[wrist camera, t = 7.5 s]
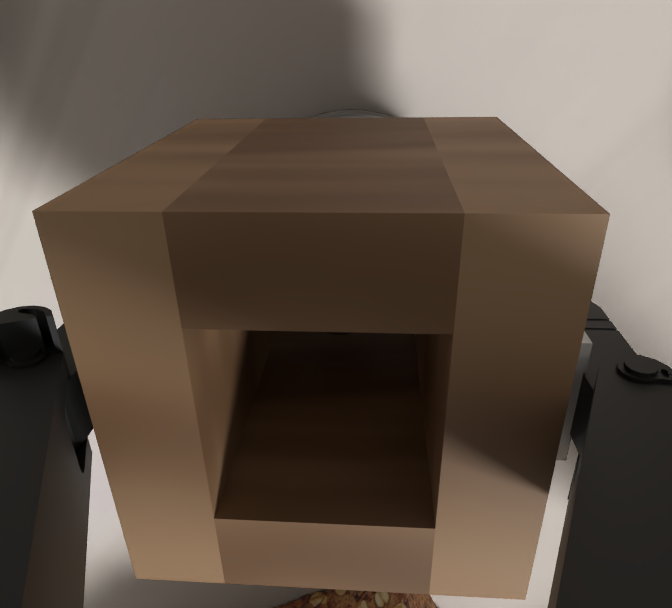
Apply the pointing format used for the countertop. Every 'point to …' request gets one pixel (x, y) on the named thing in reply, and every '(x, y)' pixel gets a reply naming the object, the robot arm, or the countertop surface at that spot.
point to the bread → (361, 600)
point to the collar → (329, 348)
